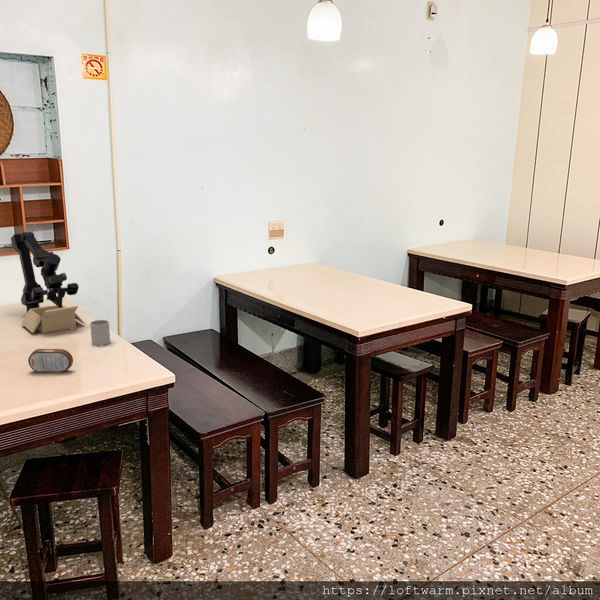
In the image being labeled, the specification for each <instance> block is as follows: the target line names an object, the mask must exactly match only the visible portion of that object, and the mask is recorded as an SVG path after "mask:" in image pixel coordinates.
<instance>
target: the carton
mask: <svg viewBox="0 0 600 600" xmlns="http://www.w3.org/2000/svg"><path fill="white" fill-rule="evenodd" d="M65 307H66V306H65V305H64V304H62V308H65ZM58 308H59V307H58V306H57V305H56V304H54V305H48V306H42V307H40V308H34V309H30V310H29V311H28V312H27V311H26V316H25V315H24V317H23V319H22V320H21V325H23V327H25V328H26V329H27V330H29V331H30V333H33V334H34V333H35V331H36V330H38V331H39V332H40V333H42V334H43V335H46V334H49V333H50V334H51V333H56V331H57V332H62V331H61V330H63V331H67V329H69V330H72V329H71V328H74V329H77V324H76V320H77V321H78V322H80V323H81V324H84V325H85V324H86V323H85V322H84V320H83V319H82V318H81V317H80V316H79V315H78V314H77V313H76V312H75V313H70V314H64V315H58V316H51V317H45V318H43V317H42V316H43V314H44V312H45V310H52V309H58ZM36 328H37V329H36Z"/></svg>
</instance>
